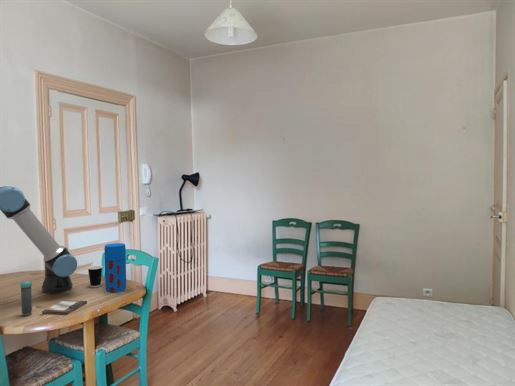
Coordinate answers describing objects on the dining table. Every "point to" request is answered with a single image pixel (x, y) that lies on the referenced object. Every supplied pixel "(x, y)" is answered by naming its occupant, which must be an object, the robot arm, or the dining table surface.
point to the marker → (26, 298)
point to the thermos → (115, 267)
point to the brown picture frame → (64, 307)
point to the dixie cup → (95, 275)
